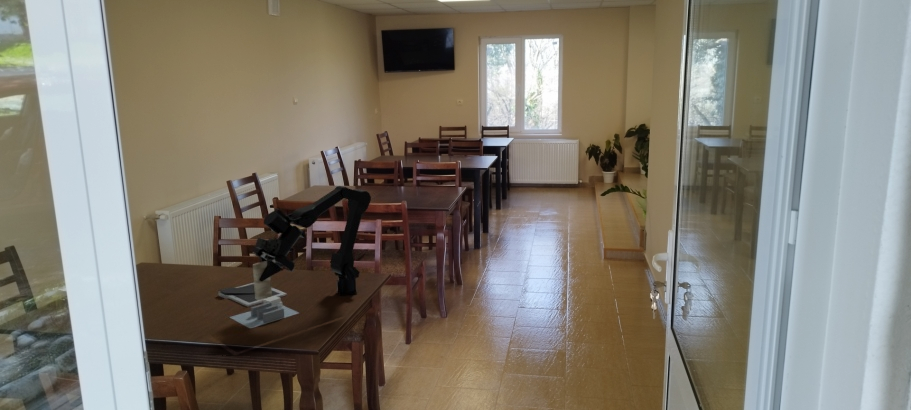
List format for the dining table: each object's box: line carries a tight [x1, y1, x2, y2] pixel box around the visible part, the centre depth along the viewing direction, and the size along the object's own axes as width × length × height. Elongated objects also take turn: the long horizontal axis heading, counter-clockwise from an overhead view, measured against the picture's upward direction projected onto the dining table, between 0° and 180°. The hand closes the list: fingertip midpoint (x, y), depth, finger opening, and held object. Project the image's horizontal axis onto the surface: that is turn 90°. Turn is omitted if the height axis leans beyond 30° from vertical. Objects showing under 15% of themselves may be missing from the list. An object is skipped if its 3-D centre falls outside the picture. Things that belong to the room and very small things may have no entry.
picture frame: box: [218, 282, 288, 308], centre depth 223 cm, size 16×3×21 cm
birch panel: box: [252, 261, 272, 300], centre depth 200 cm, size 5×2×12 cm, turn 136°
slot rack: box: [229, 302, 299, 329], centre depth 203 cm, size 18×14×4 cm
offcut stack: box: [262, 296, 284, 307], centre depth 210 cm, size 5×4×3 cm
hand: (258, 280), depth 199 cm, fingers closed on birch panel, 2 cm apart
